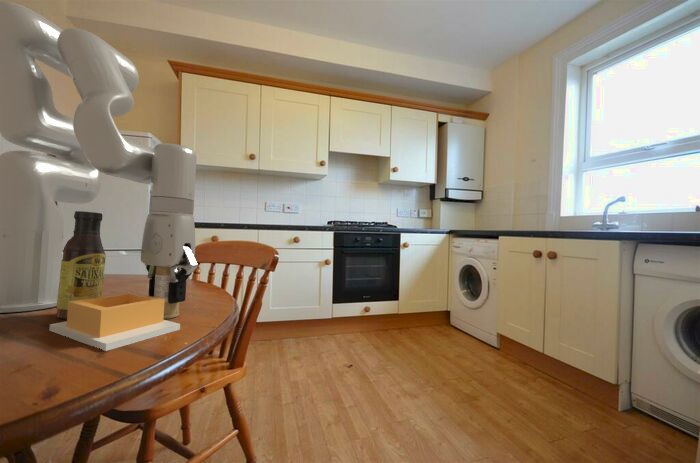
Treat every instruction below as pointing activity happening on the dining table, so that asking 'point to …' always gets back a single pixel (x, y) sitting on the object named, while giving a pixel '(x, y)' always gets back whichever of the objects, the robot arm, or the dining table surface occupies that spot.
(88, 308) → the socket base
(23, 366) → the dining table surface
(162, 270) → the sprinkles bottle
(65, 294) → the sauce bottle
